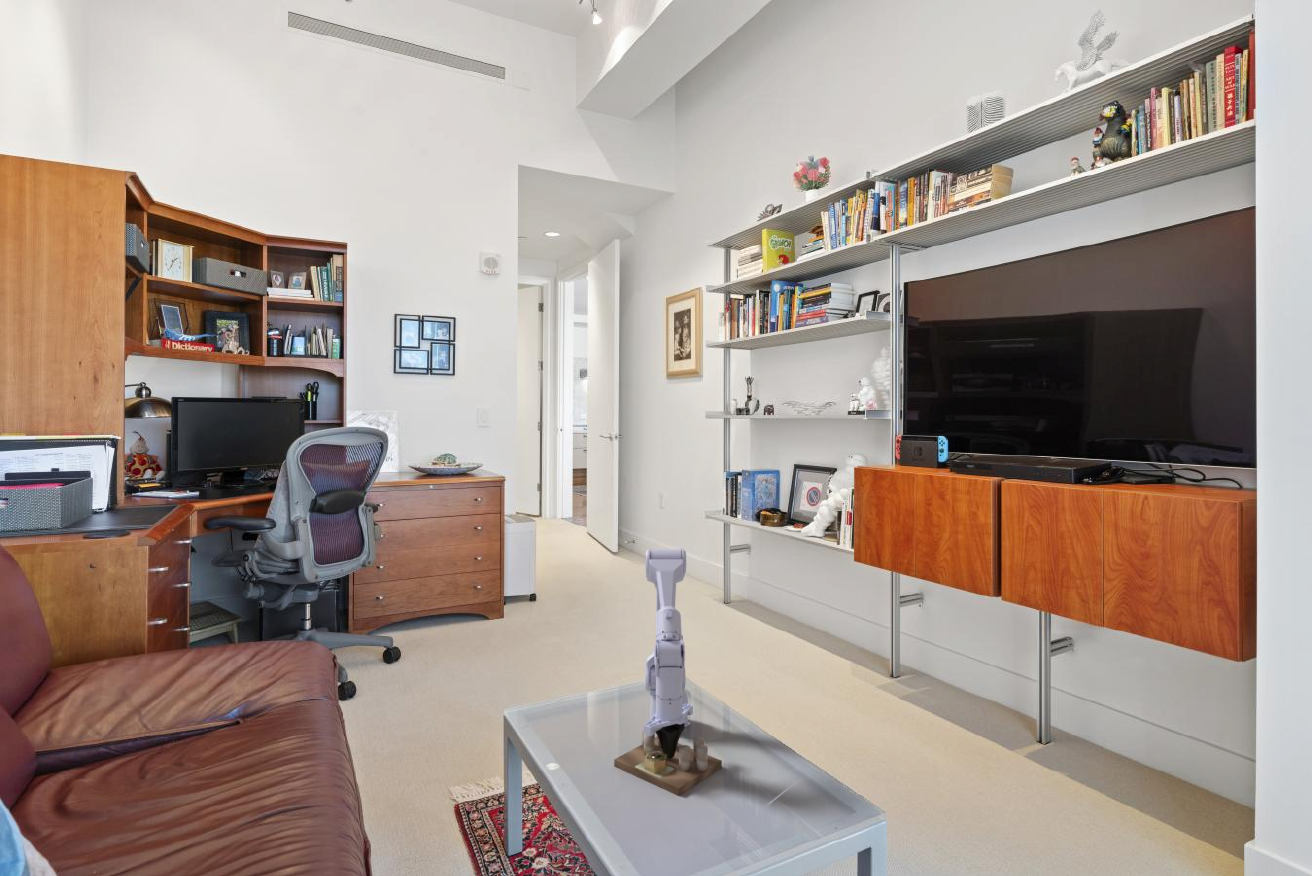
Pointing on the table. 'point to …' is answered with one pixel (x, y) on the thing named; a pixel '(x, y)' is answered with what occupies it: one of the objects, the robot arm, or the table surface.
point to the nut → (655, 762)
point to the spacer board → (671, 764)
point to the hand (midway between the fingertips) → (668, 756)
